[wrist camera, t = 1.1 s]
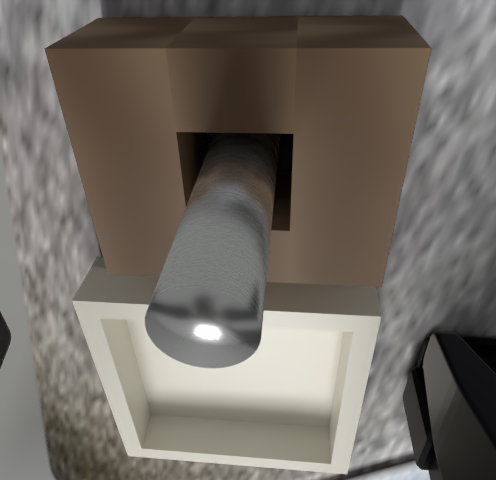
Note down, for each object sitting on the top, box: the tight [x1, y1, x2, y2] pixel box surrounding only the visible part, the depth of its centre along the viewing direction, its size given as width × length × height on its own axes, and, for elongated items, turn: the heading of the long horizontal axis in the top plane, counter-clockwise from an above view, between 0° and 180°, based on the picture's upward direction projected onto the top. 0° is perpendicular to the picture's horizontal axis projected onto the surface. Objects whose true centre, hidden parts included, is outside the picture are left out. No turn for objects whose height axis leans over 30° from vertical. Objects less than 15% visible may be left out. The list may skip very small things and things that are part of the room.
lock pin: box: [145, 133, 280, 368], centre depth 13 cm, size 2×2×10 cm
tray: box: [72, 257, 381, 474], centre depth 24 cm, size 13×13×3 cm
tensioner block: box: [45, 16, 431, 287], centre depth 16 cm, size 10×8×4 cm
